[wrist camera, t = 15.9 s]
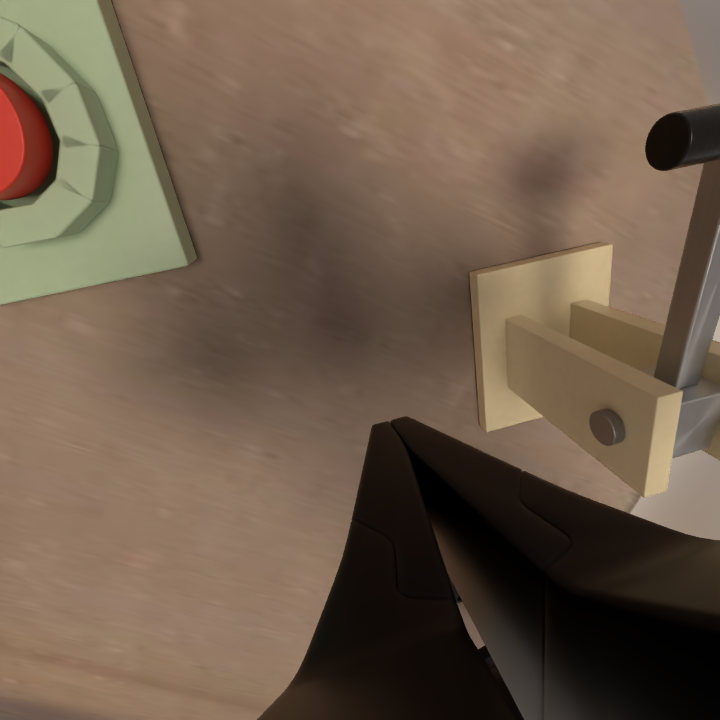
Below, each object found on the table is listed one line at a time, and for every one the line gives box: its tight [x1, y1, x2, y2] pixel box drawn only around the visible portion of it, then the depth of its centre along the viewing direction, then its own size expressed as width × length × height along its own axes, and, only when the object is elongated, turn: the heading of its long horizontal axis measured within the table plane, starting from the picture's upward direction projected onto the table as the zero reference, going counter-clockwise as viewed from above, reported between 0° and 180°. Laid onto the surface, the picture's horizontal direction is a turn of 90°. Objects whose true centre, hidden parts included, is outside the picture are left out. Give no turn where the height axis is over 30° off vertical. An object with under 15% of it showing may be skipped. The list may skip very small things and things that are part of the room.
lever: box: [639, 104, 720, 458], centre depth 14 cm, size 12×5×2 cm, turn 10°
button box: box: [0, 0, 197, 305], centre depth 15 cm, size 11×9×4 cm
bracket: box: [469, 242, 720, 498], centre depth 20 cm, size 10×8×11 cm
